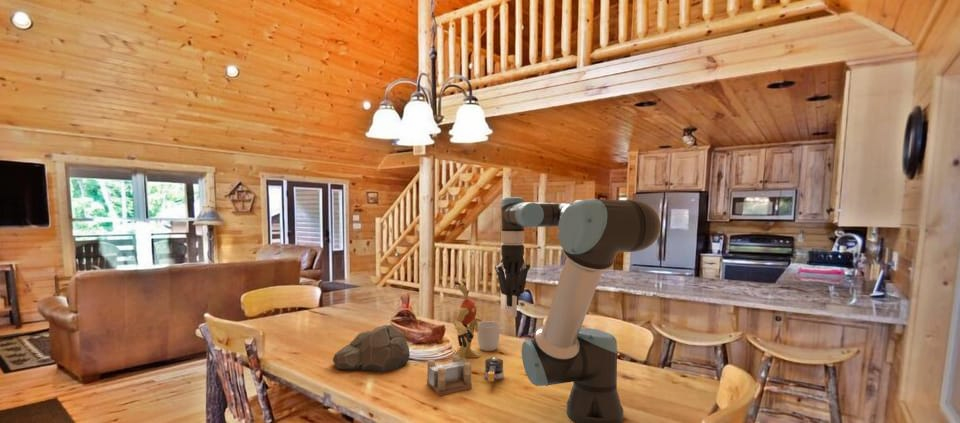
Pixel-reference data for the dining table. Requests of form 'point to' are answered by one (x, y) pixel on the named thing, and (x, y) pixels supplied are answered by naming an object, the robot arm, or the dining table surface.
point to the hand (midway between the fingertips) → (512, 315)
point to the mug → (488, 335)
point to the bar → (447, 373)
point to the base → (496, 376)
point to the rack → (452, 387)
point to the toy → (462, 320)
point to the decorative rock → (374, 351)
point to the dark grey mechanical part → (493, 367)
